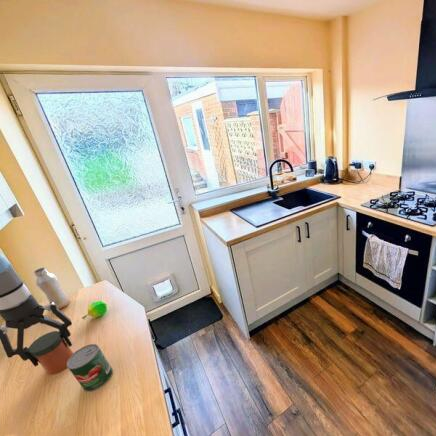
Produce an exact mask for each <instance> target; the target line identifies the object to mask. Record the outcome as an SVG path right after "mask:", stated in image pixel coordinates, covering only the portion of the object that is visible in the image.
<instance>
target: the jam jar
mask: <svg viewBox="0 0 436 436" xmlns="http://www.w3.org/2000/svg"><path fill="white" fill-rule="evenodd" d="M74 353H75V352H74V351H73V350H72V348H71V346H70V347H69V346H68V344H67V343H66V341H65V340H64V339H63V340H62V342H61V343H60V344H59V345H58V346H57V347H56V348H55V349H53V350H52V351H50V352H49V353H47V354H44V355H42V356H38V357H35V358H36V360H37V361H38V364H39V365H40V366H41V367H42V368H43V370H44V371H45V372H46V373H47V374H48V375H50V376H51V375H56V374H59V373H61V372H63V371H65V370H66V369H68V367H67V361H68V359H69V358H70V357H71V356H72V355H73V354H74Z"/></svg>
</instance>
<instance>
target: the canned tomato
mask: <svg viewBox="0 0 436 436" xmlns="http://www.w3.org/2000/svg"><path fill="white" fill-rule="evenodd" d="M73 353H74V354H73V355H72V356H71V357H70V358H69V359H68V361H67V369H68V370H69V371H70V373H71V374H72V376H74V378H75V379H76V381H77V382H78V383H79V385H80V387H82V389H83V391H85V392H87V393H91V392H95V391H97V390H99V389H101V388H102V387H103V386H105V385H106V384H107V383H108V382H109V381H110V379H111V378H112V375H113V373H114V369H113V367H112V365H111V364H110V363H109V361H108V359H107V358H106V356H105V354H104V353H103V351H102V350H101V348H100V346H99V345H98V344H97V343H90V344H87V345H84V346H82V347H81V348H79V349H78V350H76V351H75V352H73Z"/></svg>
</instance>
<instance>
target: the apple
mask: <svg viewBox="0 0 436 436" xmlns="http://www.w3.org/2000/svg"><path fill="white" fill-rule="evenodd" d="M107 311H108V307H107V304H106V303H105V302H103V301H102V300H98V301H94V302H93V301H92V303H91V304H90V305H89V306H88V307H87V314H85V315H84V316H82V317H81V319H83V320H84V321H85V320H86V317H87V316H89V317H91V318H93V319H95V318H100V317H103V316H104V314H105V313H106V312H107Z"/></svg>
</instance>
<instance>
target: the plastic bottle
mask: <svg viewBox="0 0 436 436" xmlns="http://www.w3.org/2000/svg"><path fill="white" fill-rule="evenodd" d="M33 274H34V276H35V277H36V280H35V285H36V287H38V288H39V289H40V291H42V293H43V294H44V295H45V296H46V299H47V300H48V305H49V304H50V303H51V302H54V303H55V306H56V307H57V308H58V309H59V310H62V308H65V307H66V306H68V305H69V304H70V301H71V299H70V296H69V295H68V294H66V293H65V291H64V290H63V288H62V287H61V285H60V283H59V280H58V278H57V276H56V274H54V273H52V272H49V271H48V270H47V268H46V267H40V268H37V269H36V270H34V271H33Z"/></svg>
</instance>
